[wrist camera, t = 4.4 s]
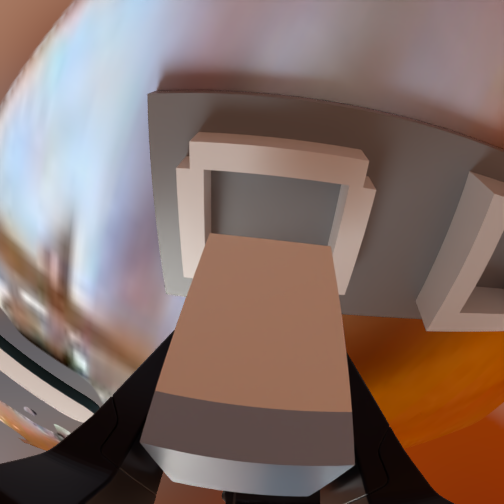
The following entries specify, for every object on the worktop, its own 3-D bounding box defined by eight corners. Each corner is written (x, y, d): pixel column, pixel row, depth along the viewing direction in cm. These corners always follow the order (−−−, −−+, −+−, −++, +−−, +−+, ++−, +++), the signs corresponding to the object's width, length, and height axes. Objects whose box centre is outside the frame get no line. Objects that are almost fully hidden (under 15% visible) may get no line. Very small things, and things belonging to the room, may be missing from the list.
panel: (503, 311, 19) (519, 343, 16) (170, 283, 20) (154, 323, 17) (569, 181, 12) (599, 207, 9) (155, 90, 13) (121, 104, 10)
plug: (308, 325, 13) (308, 496, 7) (211, 315, 13) (172, 481, 7) (330, 246, 10) (355, 464, 5) (209, 233, 10) (139, 441, 5)
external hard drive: (107, 405, 36) (103, 416, 35) (86, 415, 42) (82, 425, 40) (-28, 306, 28) (-36, 316, 27) (-26, 335, 34) (-31, 344, 32)
